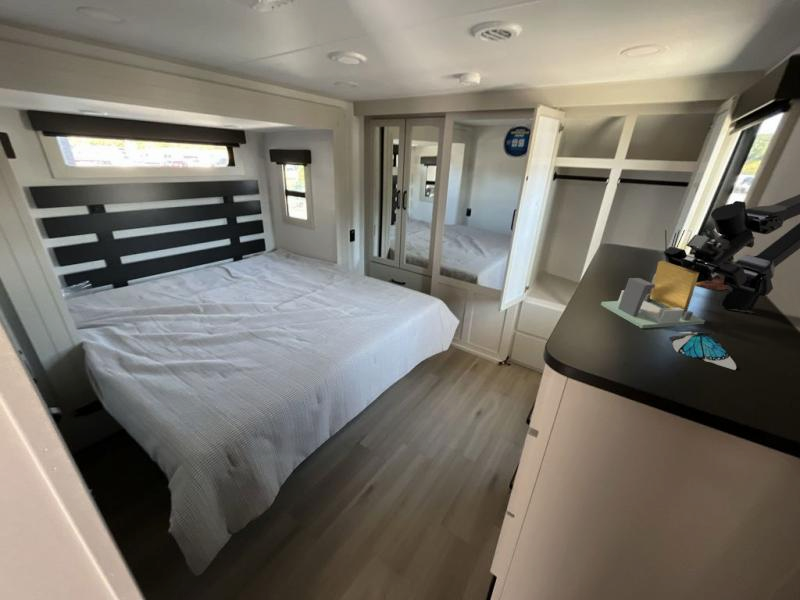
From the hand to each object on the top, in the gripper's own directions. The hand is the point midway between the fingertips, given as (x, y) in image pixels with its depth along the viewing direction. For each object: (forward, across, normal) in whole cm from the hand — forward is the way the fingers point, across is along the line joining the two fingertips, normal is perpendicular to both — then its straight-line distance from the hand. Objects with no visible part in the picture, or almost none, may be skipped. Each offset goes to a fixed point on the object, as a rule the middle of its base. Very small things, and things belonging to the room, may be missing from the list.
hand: (674, 286), depth 87 cm
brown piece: (-22, -18, +34) cm, 44 cm away
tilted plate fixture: (+9, 0, +3) cm, 10 cm away
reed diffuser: (-6, -18, +18) cm, 26 cm away
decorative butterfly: (+14, +18, -1) cm, 23 cm away
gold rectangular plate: (+4, 0, +5) cm, 6 cm away
